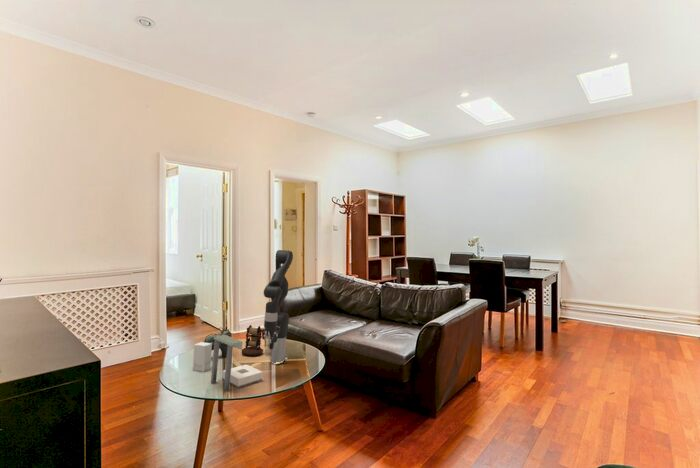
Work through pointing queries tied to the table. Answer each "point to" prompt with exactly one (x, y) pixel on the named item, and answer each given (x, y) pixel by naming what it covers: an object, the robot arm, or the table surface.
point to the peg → (268, 351)
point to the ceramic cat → (221, 345)
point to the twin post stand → (231, 343)
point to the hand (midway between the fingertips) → (268, 348)
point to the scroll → (253, 341)
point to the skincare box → (202, 356)
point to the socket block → (243, 375)
